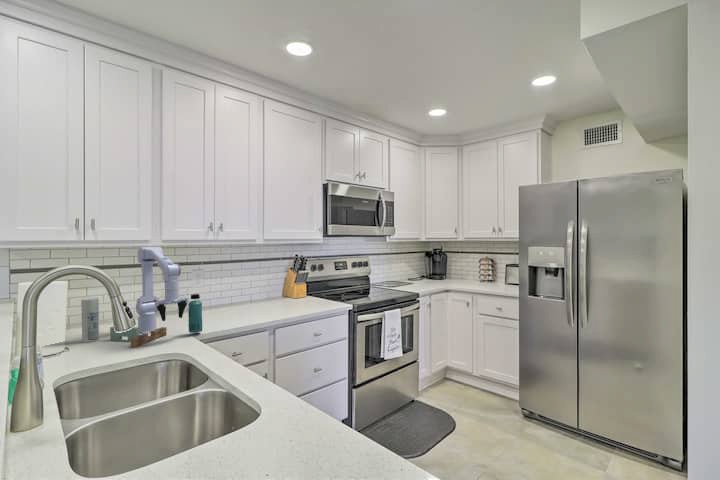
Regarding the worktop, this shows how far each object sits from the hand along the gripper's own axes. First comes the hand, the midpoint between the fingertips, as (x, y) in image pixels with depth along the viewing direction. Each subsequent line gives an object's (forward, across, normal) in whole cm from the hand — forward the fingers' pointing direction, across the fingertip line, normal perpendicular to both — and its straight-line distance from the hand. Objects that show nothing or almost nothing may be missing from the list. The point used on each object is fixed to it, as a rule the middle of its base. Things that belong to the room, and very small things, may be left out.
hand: (172, 319), depth 169 cm
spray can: (+10, -24, +31) cm, 41 cm away
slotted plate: (+10, -14, +19) cm, 26 cm away
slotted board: (+10, -7, +8) cm, 15 cm away
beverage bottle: (+10, +12, +2) cm, 16 cm away
